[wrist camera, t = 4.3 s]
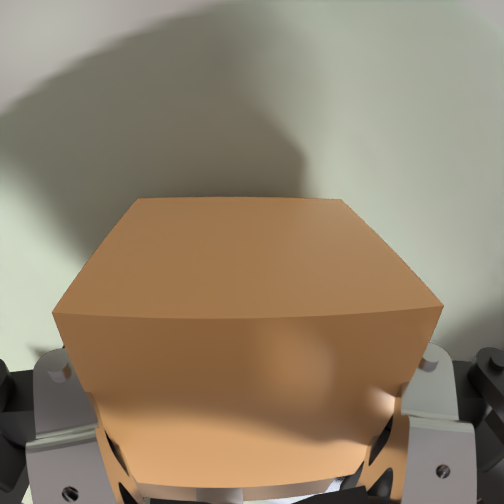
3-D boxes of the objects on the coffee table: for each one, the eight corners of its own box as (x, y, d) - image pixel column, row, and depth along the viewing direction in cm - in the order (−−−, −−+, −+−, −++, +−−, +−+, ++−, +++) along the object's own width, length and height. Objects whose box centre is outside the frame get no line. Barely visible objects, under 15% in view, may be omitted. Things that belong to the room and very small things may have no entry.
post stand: (374, 367, 15) (415, 458, 10) (321, 477, 21) (334, 534, 16) (56, 367, 13) (20, 457, 8) (124, 479, 19) (117, 536, 14)
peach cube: (341, 199, 9) (444, 305, 4) (315, 350, 12) (354, 473, 7) (137, 198, 9) (52, 312, 4) (159, 352, 12) (137, 482, 7)
